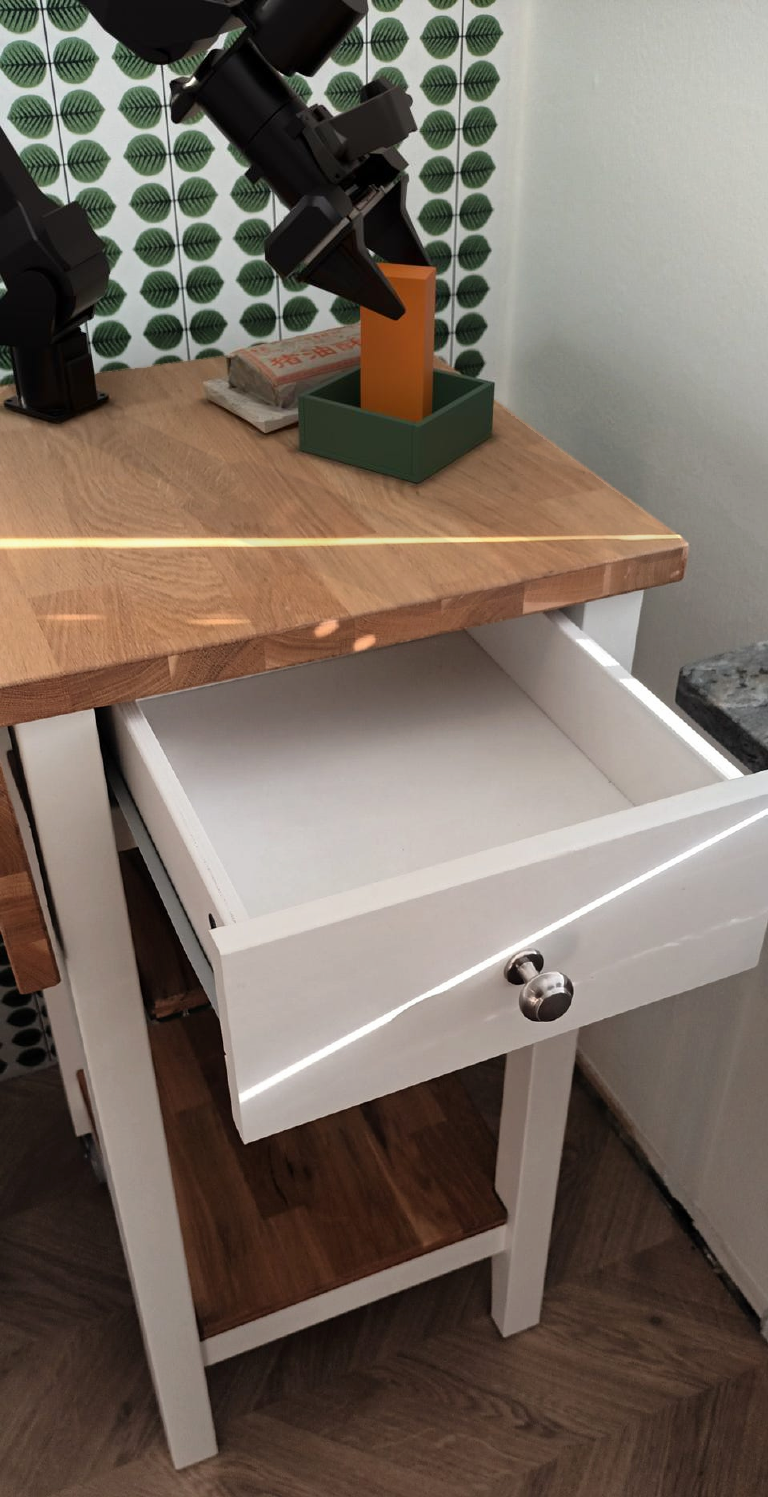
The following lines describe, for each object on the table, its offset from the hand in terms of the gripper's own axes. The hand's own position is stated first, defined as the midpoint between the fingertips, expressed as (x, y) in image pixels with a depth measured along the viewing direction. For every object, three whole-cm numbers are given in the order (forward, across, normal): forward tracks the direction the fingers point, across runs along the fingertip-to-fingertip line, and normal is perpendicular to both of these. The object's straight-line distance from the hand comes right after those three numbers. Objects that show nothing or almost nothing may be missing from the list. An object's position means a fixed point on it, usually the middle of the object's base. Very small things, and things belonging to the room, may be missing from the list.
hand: (417, 298), depth 93 cm
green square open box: (+7, 0, +9) cm, 12 cm away
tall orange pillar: (+7, 0, +9) cm, 11 cm away
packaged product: (+1, +8, +16) cm, 18 cm away
